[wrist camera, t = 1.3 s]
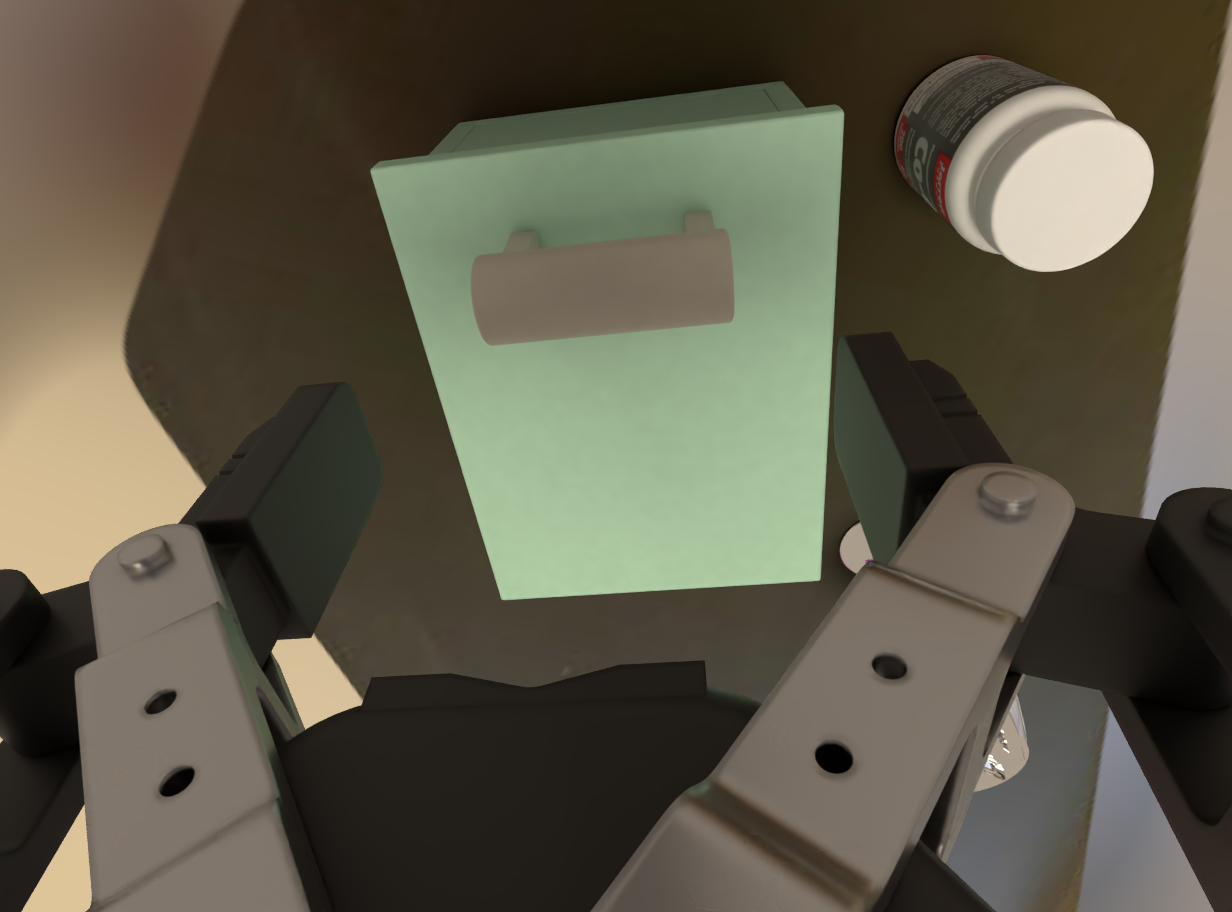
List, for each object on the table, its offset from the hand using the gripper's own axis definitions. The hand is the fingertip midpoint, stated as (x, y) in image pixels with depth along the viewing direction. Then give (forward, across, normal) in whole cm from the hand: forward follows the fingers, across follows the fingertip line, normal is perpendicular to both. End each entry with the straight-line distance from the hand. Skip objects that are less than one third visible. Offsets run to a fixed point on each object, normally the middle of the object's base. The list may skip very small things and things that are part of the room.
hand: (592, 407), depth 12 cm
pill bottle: (+18, -12, +1) cm, 22 cm away
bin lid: (+9, 0, +5) cm, 11 cm away
